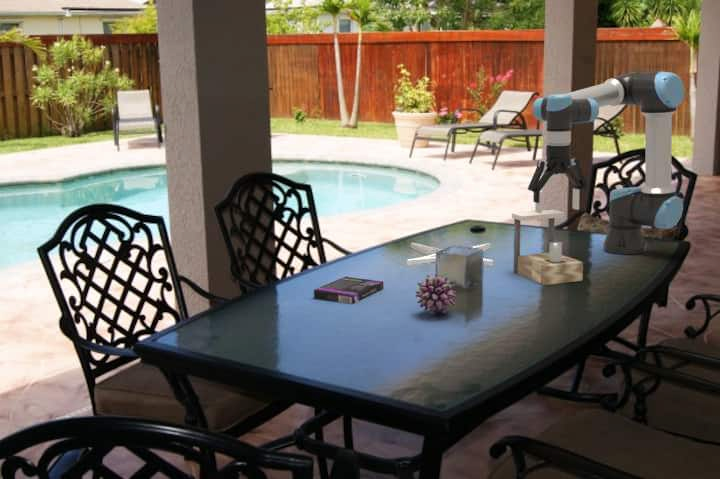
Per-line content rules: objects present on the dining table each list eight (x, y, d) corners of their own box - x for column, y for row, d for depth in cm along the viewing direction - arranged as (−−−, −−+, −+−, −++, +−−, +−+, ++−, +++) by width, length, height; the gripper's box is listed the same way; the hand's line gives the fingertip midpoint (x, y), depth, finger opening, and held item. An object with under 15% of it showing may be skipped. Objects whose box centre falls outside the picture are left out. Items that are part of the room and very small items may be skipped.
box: (352, 307, 276) (384, 290, 293) (352, 295, 276) (384, 280, 292) (313, 300, 283) (346, 285, 300) (313, 289, 282) (346, 274, 299)
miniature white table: (552, 267, 317) (554, 209, 313) (563, 271, 311) (564, 212, 307) (511, 272, 311) (511, 213, 307) (520, 276, 306) (521, 216, 301)
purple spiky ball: (429, 322, 256) (429, 280, 254) (407, 312, 267) (407, 271, 264) (464, 316, 261) (464, 275, 259) (441, 306, 272) (441, 266, 270)
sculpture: (406, 259, 323) (410, 242, 352) (406, 267, 324) (410, 248, 353) (493, 260, 320) (490, 242, 349) (493, 267, 321) (490, 249, 350)
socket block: (554, 269, 314) (554, 251, 313) (582, 280, 299) (583, 262, 297) (517, 273, 310) (517, 255, 308) (544, 284, 294) (544, 266, 293)
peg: (563, 280, 300) (564, 243, 297) (553, 281, 298) (553, 244, 296) (557, 277, 303) (557, 241, 301) (546, 278, 302) (547, 242, 300)
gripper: (585, 140, 300) (584, 205, 304) (517, 145, 291) (516, 212, 296) (599, 142, 293) (597, 209, 297) (529, 147, 284) (528, 216, 289)
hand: (557, 210), depth 296 cm, fingers open, 13 cm apart
